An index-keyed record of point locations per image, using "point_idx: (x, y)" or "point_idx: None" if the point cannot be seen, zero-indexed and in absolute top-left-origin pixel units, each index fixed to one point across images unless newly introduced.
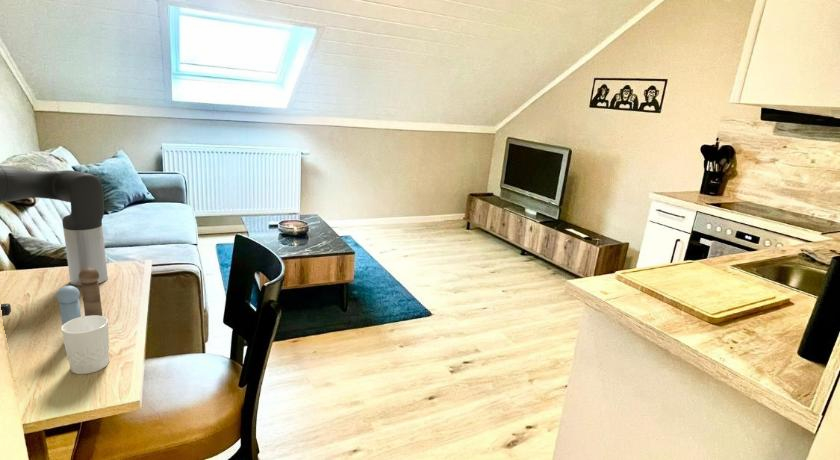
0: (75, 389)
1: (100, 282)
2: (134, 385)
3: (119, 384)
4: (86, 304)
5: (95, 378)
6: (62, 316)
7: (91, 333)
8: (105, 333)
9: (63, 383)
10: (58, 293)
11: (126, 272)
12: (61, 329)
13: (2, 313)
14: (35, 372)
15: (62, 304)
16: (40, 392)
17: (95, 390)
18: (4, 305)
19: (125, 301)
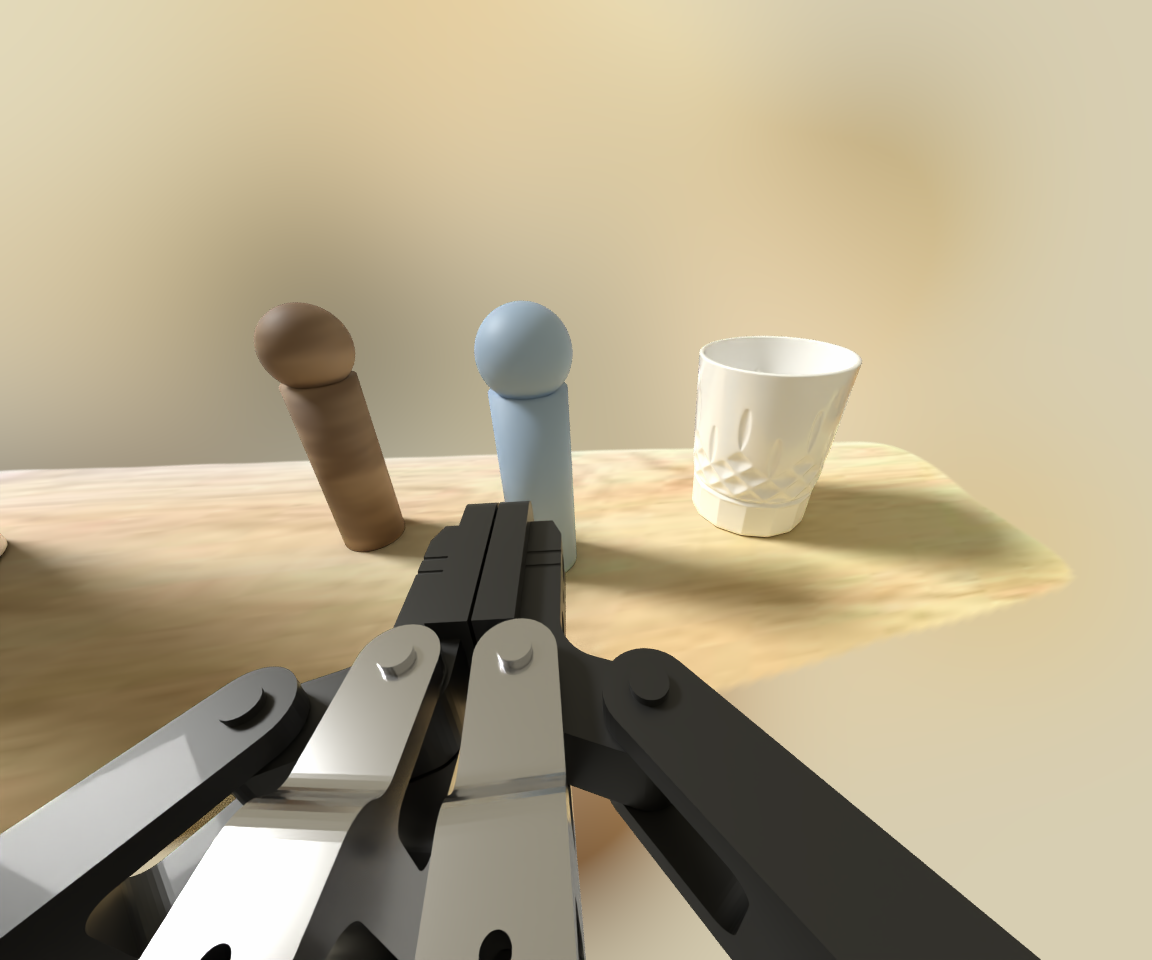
0: (888, 516)
1: (4, 546)
2: (844, 442)
3: (844, 458)
4: (370, 479)
5: (820, 491)
6: (557, 460)
7: (828, 354)
8: (772, 370)
9: (860, 541)
10: (541, 337)
11: (7, 500)
12: (833, 374)
13: (562, 562)
14: (792, 621)
15: (557, 395)
16: (933, 582)
17: (882, 485)
18: (507, 511)
19: (306, 484)
